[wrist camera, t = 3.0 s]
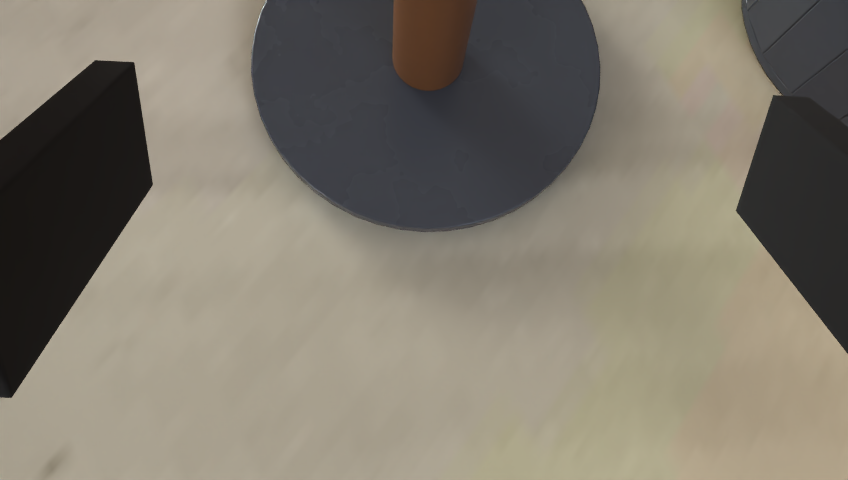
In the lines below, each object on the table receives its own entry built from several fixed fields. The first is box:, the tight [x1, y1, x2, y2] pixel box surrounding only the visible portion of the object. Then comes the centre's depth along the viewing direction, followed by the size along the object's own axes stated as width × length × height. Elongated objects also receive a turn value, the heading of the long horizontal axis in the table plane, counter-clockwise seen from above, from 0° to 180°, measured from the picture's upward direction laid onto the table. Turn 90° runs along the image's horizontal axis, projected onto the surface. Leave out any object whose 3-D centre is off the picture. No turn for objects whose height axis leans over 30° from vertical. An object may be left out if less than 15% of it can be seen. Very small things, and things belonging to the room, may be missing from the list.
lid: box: [251, 0, 600, 232], centre depth 25 cm, size 14×14×10 cm
